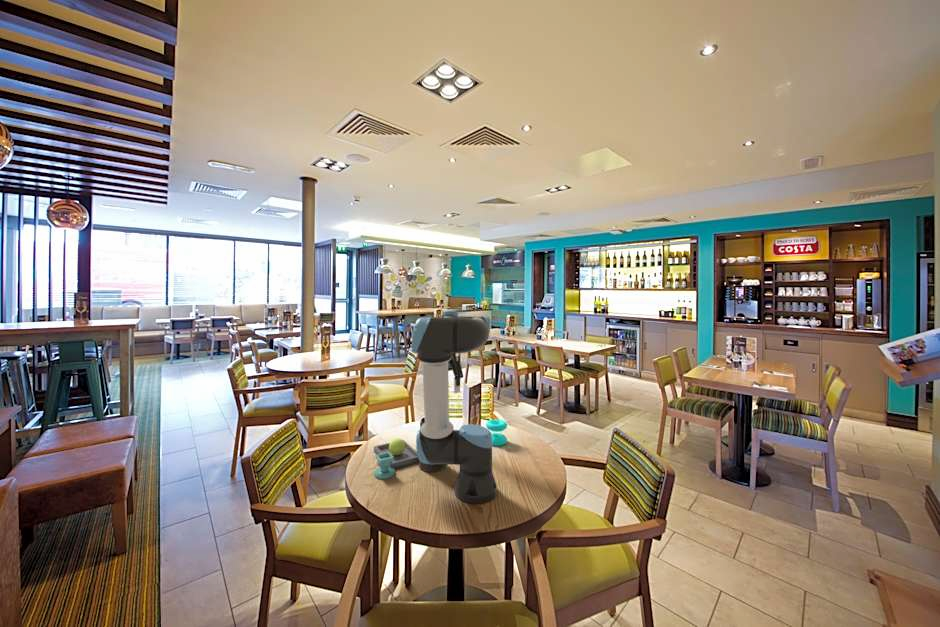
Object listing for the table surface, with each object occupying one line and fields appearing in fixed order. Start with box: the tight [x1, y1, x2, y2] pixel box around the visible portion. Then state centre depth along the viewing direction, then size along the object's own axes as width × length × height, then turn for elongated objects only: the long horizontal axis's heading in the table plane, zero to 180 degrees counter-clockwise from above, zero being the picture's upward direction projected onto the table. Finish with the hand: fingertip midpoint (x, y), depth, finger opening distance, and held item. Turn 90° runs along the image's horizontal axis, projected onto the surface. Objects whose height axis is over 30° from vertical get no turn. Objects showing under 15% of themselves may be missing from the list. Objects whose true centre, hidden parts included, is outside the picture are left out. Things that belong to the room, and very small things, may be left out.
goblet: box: [373, 452, 396, 480], centre depth 144 cm, size 8×8×7 cm
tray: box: [373, 439, 420, 470], centre depth 160 cm, size 20×14×2 cm
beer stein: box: [418, 416, 449, 473], centre depth 150 cm, size 15×11×20 cm
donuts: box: [485, 418, 508, 447], centre depth 175 cm, size 10×10×10 cm
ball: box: [389, 437, 405, 455], centre depth 159 cm, size 7×7×7 cm
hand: (449, 389), depth 170 cm, fingers open, 13 cm apart
